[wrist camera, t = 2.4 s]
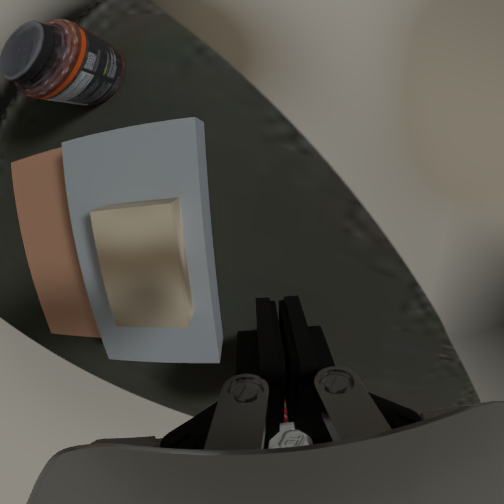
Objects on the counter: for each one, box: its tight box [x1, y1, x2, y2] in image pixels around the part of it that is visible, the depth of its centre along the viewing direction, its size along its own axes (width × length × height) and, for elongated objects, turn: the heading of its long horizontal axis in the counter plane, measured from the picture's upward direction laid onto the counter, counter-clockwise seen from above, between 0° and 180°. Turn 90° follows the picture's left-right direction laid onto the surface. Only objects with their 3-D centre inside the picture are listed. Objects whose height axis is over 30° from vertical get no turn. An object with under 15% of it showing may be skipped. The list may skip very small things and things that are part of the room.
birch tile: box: [90, 197, 194, 327], centre depth 21 cm, size 9×6×2 cm, turn 3°
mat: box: [11, 147, 101, 338], centre depth 25 cm, size 20×10×1 cm, turn 3°
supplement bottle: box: [0, 19, 125, 106], centre depth 15 cm, size 6×6×11 cm
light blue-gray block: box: [62, 117, 223, 363], centre depth 24 cm, size 20×11×4 cm, turn 3°
